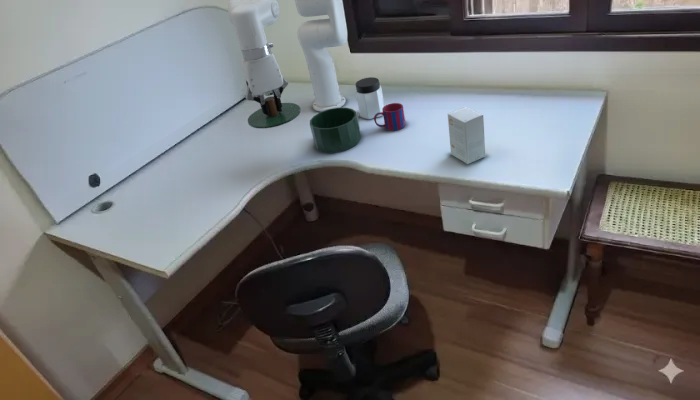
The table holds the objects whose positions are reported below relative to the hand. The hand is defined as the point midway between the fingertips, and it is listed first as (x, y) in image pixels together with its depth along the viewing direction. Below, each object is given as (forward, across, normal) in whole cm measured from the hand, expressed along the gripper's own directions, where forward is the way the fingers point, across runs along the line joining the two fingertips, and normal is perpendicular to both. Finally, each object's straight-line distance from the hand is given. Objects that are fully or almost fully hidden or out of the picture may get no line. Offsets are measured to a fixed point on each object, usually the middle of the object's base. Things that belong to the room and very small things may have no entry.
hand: (273, 112), depth 153 cm
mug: (+18, -36, +5) cm, 41 cm away
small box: (+18, -40, +38) cm, 58 cm away
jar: (+18, -38, -9) cm, 43 cm away
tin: (+18, -19, -1) cm, 26 cm away
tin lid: (+1, 0, 0) cm, 1 cm away
